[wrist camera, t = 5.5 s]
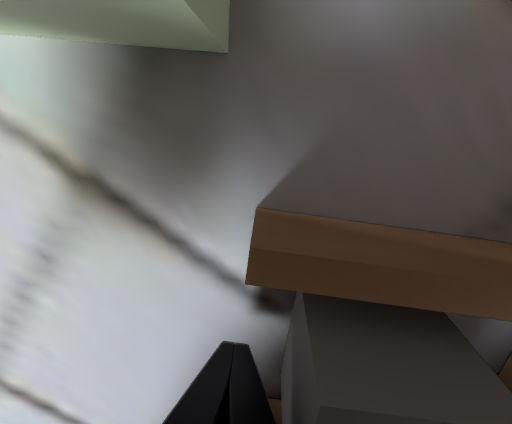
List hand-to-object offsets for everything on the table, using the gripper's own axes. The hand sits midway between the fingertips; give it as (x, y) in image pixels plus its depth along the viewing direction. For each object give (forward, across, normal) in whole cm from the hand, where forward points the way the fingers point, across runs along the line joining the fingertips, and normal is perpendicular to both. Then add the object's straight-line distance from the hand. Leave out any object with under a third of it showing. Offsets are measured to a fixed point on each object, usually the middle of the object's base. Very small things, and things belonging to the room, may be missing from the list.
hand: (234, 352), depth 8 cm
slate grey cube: (+1, -4, 0) cm, 4 cm away
